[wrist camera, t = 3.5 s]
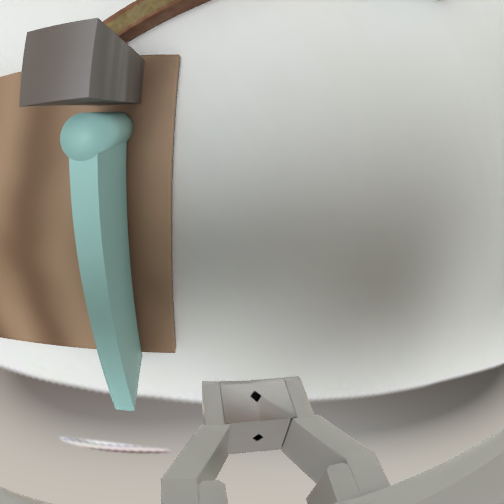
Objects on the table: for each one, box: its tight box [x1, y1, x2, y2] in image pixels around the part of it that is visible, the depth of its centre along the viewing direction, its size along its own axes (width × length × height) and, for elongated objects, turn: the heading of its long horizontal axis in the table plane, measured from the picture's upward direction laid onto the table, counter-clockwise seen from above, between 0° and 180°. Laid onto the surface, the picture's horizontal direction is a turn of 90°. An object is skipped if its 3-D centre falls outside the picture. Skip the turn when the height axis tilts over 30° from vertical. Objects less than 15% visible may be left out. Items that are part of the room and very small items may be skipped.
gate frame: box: [0, 18, 180, 353], centre depth 12 cm, size 18×19×9 cm
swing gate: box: [60, 112, 142, 411], centre depth 15 cm, size 2×16×5 cm, turn 175°
